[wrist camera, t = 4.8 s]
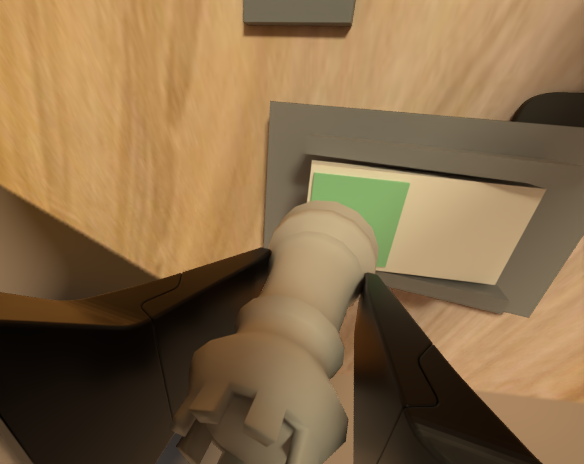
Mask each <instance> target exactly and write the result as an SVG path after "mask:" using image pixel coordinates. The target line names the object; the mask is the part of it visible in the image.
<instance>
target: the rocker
mask: <svg viewBox="0 0 584 464" xmlns="http://www.w3.org/2000/svg"><path fill="white" fill-rule="evenodd" d="M546 190H547V189H544V188H541V187H538V186H534V185H531V184H528V183H522V182H515V181H506V180H497V179H487V178H478V177H468V176H459V175H449V174H440V173H431V172H421V171H412V170H402V169H393V168H383V167H374V166H364V165H355V164H345V163H336V162H326V161H317V160H312V164H311V173H310V181H309V189H308V197H307V203H308V202H311V201H314V200H319V201H333V202H338V203H340V204H342V205H345V206H347V207H349V208H351V209H353V210H355V211H357V212H358V213H359V214H360V215H361V216H362V217H363V218H364V219H365V221H366V222H367V223H368V224H369V225H370V226H371V227H372V228H373V231H374V235H375V238H376V241H377V244H378V247H379V251H378V258H377V265H376V270H378V271H386V272H394V273H402V274H410V275H418V276H426V277H435V278H443V279H451V280H459V281H467V282H475V283H483V284H491V285H495V284H496V282H497V280H498V278H499V276H500V275H501V273H502V271H503V269H504V267H505V265H506V264H507V262H508V260H509V258H510V256H511V254H512V252H513V251H514V249H515V247H516V245H517V243H518V241H519V239H520V238H521V236H522V234H523V232H524V230H525V228H526V227H527V225H528V223H529V221H530V219H531V217H532V215H533V214H534V212H535V210H536V208H537V206H538V204H539V203H540V201H541V199H542V197H543V195H544V193H545V191H546Z"/></svg>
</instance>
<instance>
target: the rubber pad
mask: <svg viewBox="0 0 584 464" xmlns="http://www.w3.org/2000/svg"><path fill="white" fill-rule="evenodd" d="M355 2H356V0H243V22H244V23H245V24H247V25H290V26H352V21H353V15H354V8H355Z"/></svg>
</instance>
